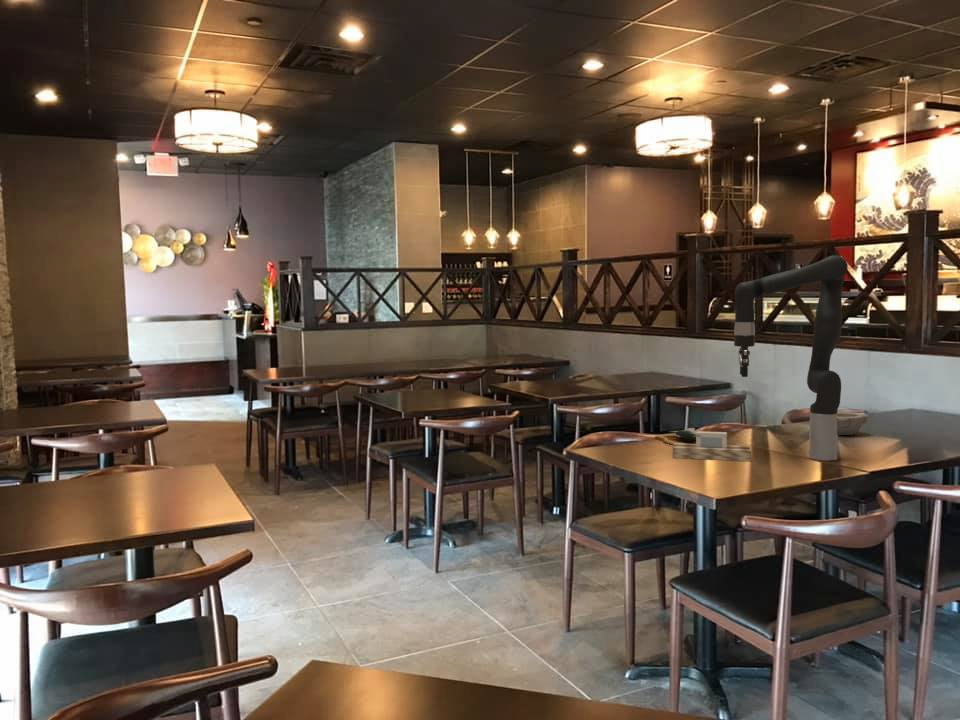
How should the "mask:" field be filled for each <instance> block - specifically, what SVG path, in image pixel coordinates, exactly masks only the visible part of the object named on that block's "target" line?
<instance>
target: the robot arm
mask: <svg viewBox="0 0 960 720" xmlns="http://www.w3.org/2000/svg"><path fill="white" fill-rule="evenodd" d="M847 271H848V262H847V261H846V259H845V258H843V257H842V256H841V255H829V256H827V257H824V258H823V259H821V260H819V261H816V262H814V263H812V264H809V265H806V266H803V267H800V268H795V269H790V270H786V271H781V272H778V273H774V274H770V275H766V276H764V277H761V278H759V279H753V280H749V281H743V282H740V283H738V284H737V285H736V287H735V291H734V297H735V298H734V299H735V301H734V302H735V314H734V317H735V318H734V319H735V320H734V327H733V328H734V329H733V330H734V333H733V336H734V337H733V345H734V346H735V347H738V348H739V347H740V348H739V350H738V362H739V374H740V375H741V378H742V377H743V378H747V377H748V376H749V375H748V374H749V366H750V364H749V363H750V356H751V352H750V350H749V348H750V347H755V345H756V344H755V343H756V340H755V339H756V327H755V319H756V318H755V309H754V308H755V307H754V305H755V299H756V298H759V297H763V296H765V295H773V294H777V293H780V292H785V291H788V290H790V289H791V290H792V289H794V288H796V287H799V286H802V285H806V284H810V283H815V282H820V283H819V285H820V286H819V289H820V291H819V298H818V302H817V305H816V306H817V307H816V312H815V318H814V323H813V324H814V325H813V338H812V348H811V349H812V350H811V357H810V362H809V367H808V371H807V377H806V378H807V379H806V384H807V387H808V389H809V390H810V391H811V392H812V393H815V394H816V398H815V402H814V403H812V404H811V405H810V406H809V435H808V436H809V439H808V458H809V459H813V460H817V461H827V462H828V461H838V443H839V441H838V440H839V435H837V412H838V410H839V407H840V405H841V396H842V395H841V393H842V381H841V377H840V375H839V374H838V373H837V372H835V371H833V370H830V366H831V365H830V364H831V357H832V354H833V351H834V350H835V348H836V346H837V344H838V342H839V340H840V338H841V335H842V327H843V304H842V303H843V302H842V295H843V294H842V293H843V287H844V282H845V278H846V277H845V276H846V274H847Z"/></svg>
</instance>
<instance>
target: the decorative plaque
mask: <svg viewBox="0 0 960 720" xmlns="http://www.w3.org/2000/svg"><path fill="white" fill-rule="evenodd" d="M654 437H655V438H654V440H657V441H660V442H663V444H664V443H665V444H664V445H666V444H669V445H673V443H685V444H696V428H694V427H689V428H686V429H683V430H682V429H681V430H668V431H667V433H664V434H659V435H658V434H657V435H655V436H654ZM669 445H668V446H669Z"/></svg>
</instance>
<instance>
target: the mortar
mask: <svg viewBox="0 0 960 720" xmlns="http://www.w3.org/2000/svg"><path fill="white" fill-rule="evenodd" d="M869 419H870V417H869V415H868V414H867V413H866V414H864V413H861V412H860V413H859V412H852V411H837V435H838V436H839V435H853V434H856V435H857V434H858V433H859V431H860V430H861V428H862V426H863V425H864V424H867V422H868V420H869ZM853 436H854V435H853Z"/></svg>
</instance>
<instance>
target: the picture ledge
mask: <svg viewBox="0 0 960 720" xmlns="http://www.w3.org/2000/svg"><path fill="white" fill-rule="evenodd" d="M685 458H693V459H692V460H707V459H709V460H710V461H715V460H716V461H731V462H732V461H733V462H752V449H751V447H750V445H733V444H731V445H729V444H727V449H725V448H701V447H696V444H685V443H673V446H672V459H685Z"/></svg>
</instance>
